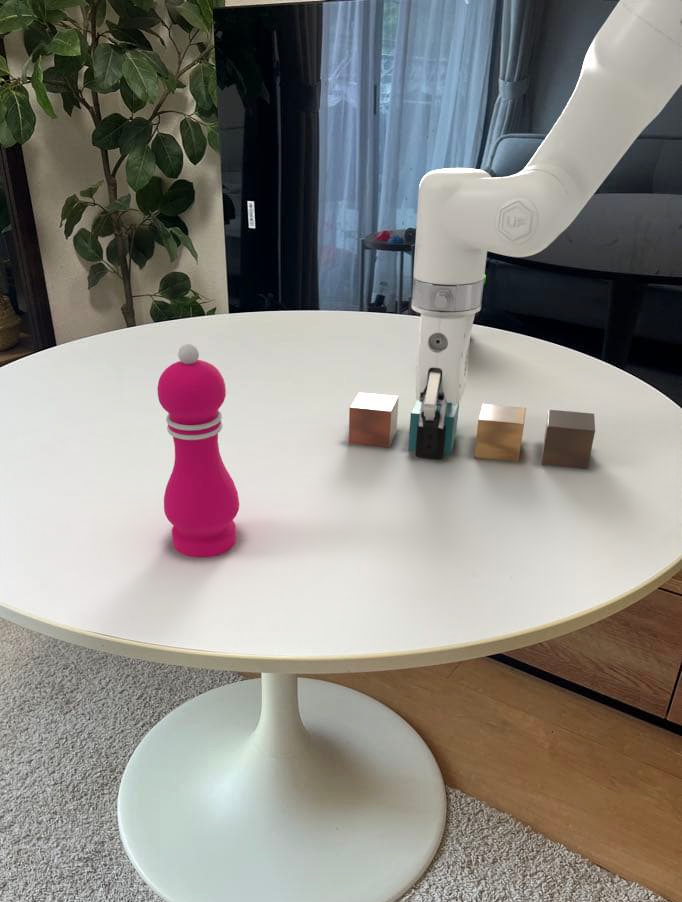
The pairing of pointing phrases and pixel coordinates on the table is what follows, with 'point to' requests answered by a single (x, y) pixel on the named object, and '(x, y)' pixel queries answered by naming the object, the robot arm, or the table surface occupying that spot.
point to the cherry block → (373, 420)
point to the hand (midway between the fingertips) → (434, 442)
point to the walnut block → (568, 439)
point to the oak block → (500, 432)
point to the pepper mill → (197, 458)
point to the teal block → (449, 422)
